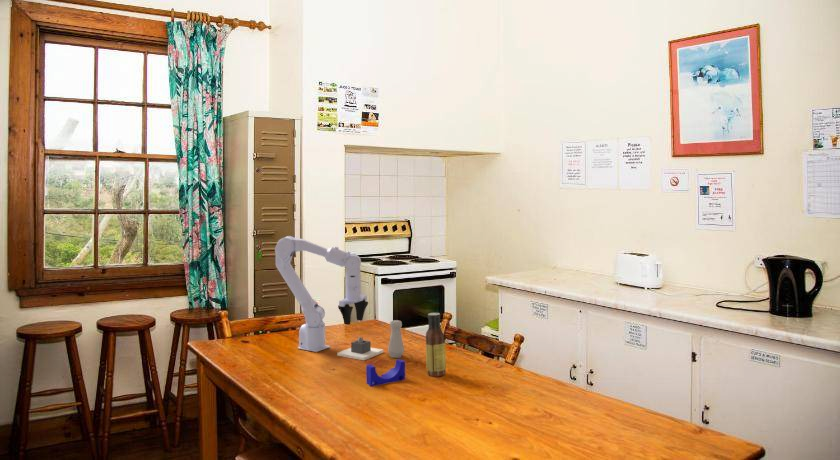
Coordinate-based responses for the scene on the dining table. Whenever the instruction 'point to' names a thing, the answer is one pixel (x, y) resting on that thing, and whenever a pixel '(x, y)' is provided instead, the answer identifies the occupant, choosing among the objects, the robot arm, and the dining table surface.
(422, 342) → the dining table surface
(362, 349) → the square frame block
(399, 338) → the salt shaker
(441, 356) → the sauce bottle
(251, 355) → the dining table surface
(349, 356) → the peg base
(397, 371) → the blue cradle stand
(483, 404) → the dining table surface
